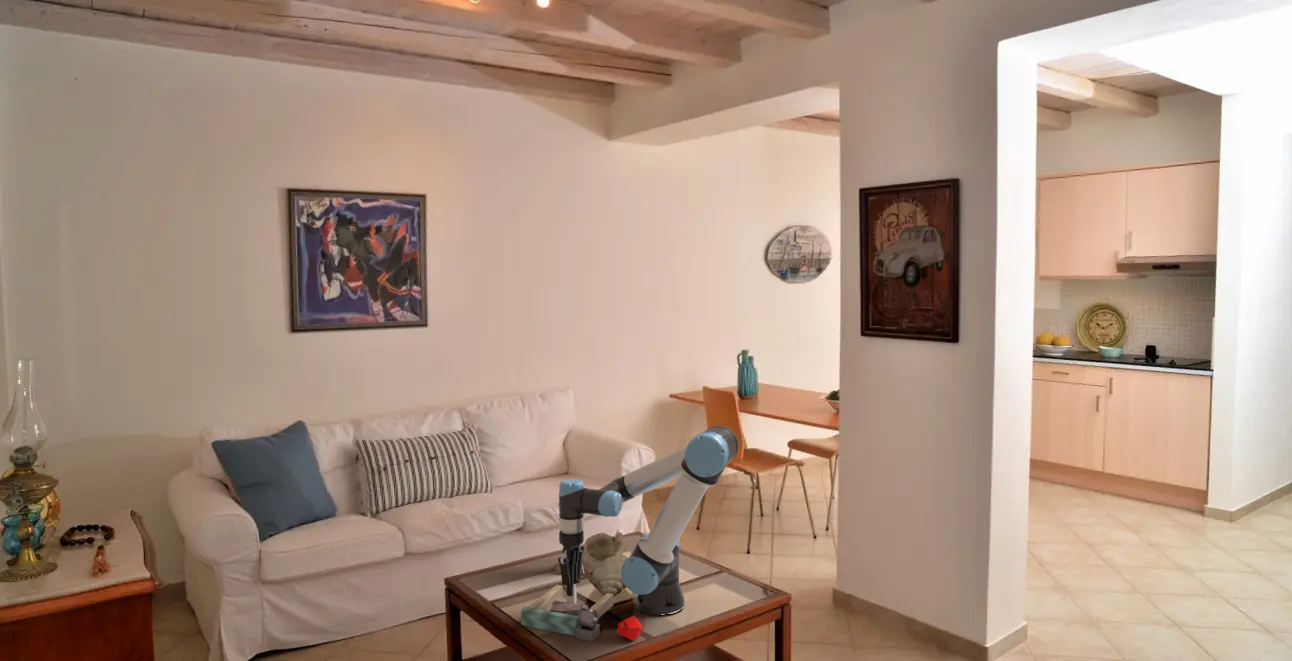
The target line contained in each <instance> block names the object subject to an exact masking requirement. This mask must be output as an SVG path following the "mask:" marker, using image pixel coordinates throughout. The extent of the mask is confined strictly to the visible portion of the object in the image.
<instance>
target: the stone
mask: <svg viewBox="0 0 1292 661" xmlns="http://www.w3.org/2000/svg"><path fill="white" fill-rule="evenodd" d="M582 608H587V609H590V608H589V606H588V605H587V604H581V603H569V602H567V601H560V600H557V601H554V602H553V604H552V605H551V606H550V610H549V611H552V612H558V613H563V614H569V615H574V616H578V615H579V612H580V610H581V609H582Z"/></svg>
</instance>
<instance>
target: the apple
mask: <svg viewBox="0 0 1292 661" xmlns="http://www.w3.org/2000/svg"><path fill="white" fill-rule="evenodd" d="M617 626H618V628H617V633H618V634H619V635H620V636H621V637H623V638H624V639H628V640H629V639H630V640H629V641H632V640H634V639H635V640H636V638H637V637H638V636H639V637H640V635H641V634H642V631H643V629H644V628H643V626H642V624H641V622H640V620H638V618H637V617H636V616H635V615H632V616H630V617H628V618H626V619H623V620H621V621H620V622H618V623H617ZM639 637H638V638H639ZM638 638H637V639H638ZM635 640H634V641H635Z"/></svg>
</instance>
